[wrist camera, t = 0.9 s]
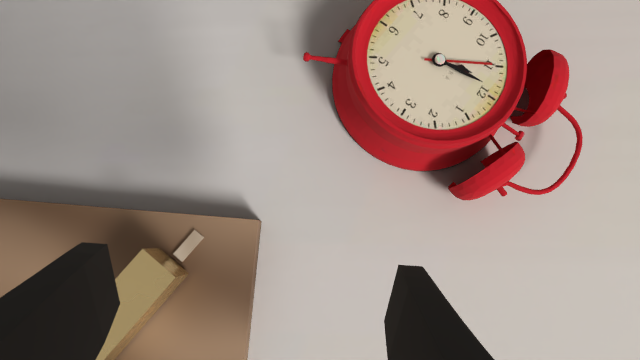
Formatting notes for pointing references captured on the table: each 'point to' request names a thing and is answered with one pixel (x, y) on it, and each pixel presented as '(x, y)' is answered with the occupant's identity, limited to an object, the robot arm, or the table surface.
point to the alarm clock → (444, 88)
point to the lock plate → (124, 244)
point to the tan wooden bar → (140, 296)
